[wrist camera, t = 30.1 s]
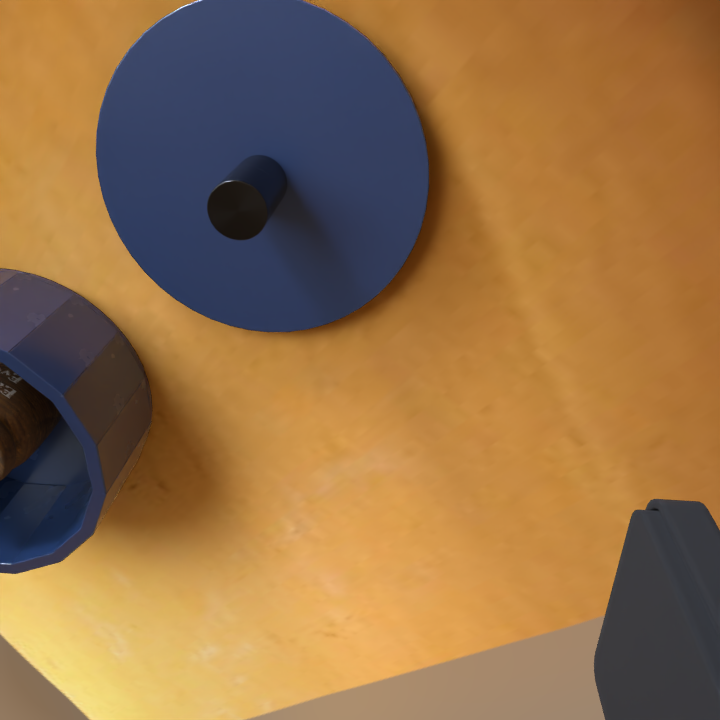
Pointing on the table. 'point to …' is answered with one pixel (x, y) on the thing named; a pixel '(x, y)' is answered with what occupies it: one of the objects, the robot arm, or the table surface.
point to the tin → (67, 419)
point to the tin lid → (262, 162)
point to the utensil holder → (22, 420)
